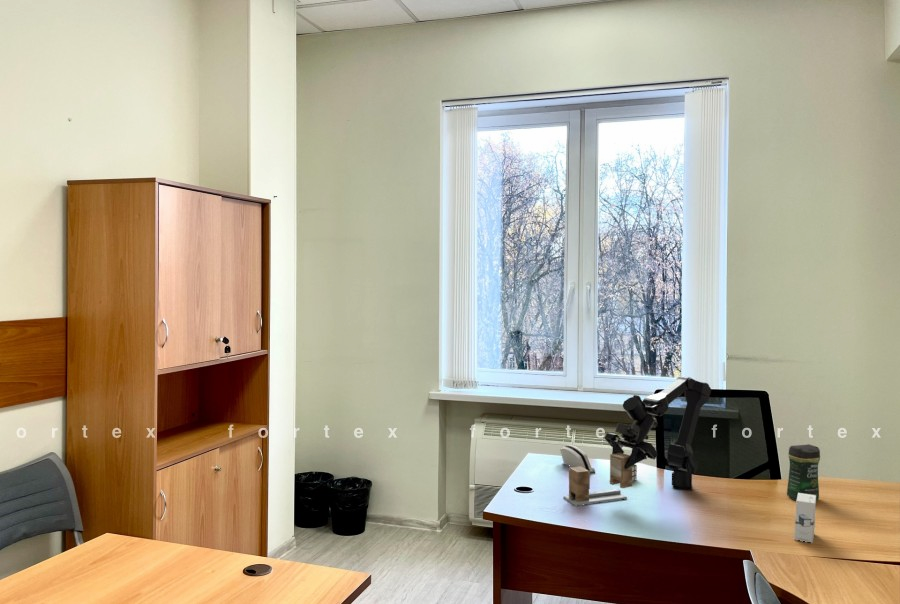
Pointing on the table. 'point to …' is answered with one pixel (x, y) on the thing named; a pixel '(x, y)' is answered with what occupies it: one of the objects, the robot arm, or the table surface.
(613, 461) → the notched wooden block
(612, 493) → the rail
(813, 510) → the ink box
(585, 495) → the fitted finger
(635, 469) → the puzzle toy
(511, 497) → the table surface
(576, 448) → the white napkin holder
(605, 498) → the base board
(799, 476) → the coffee jar
